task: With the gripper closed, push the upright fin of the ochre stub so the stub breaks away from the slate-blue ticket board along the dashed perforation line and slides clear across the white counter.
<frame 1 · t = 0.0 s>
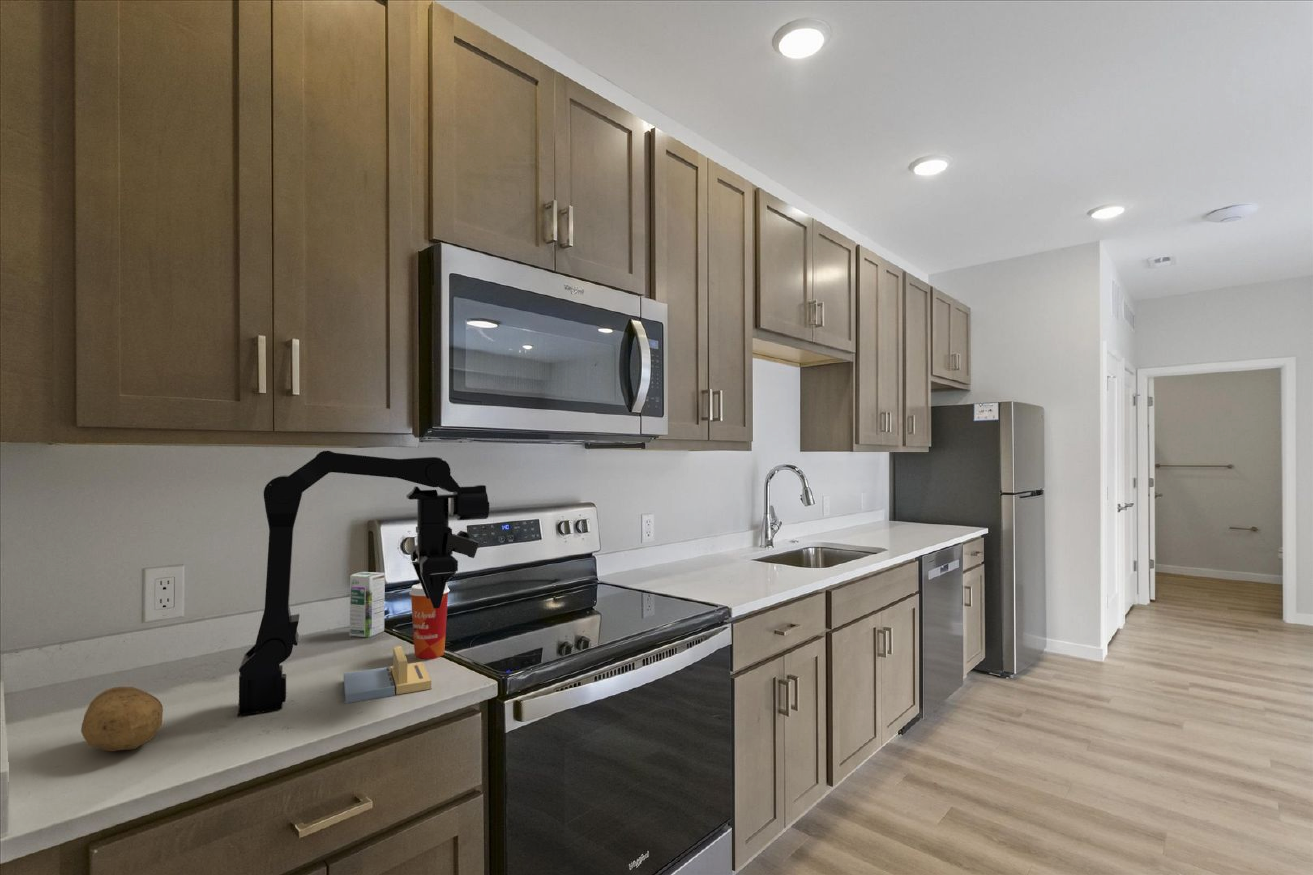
hand: (433, 602, 125), 15 cm above the counter, fingers open, 9 cm apart
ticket: (368, 687, 121), on the counter
coffee cup: (429, 655, 140), on the counter
syrup box: (367, 634, 157), on the counter
potato: (124, 748, 97), on the counter
stub: (410, 666, 124), point 3 cm above the counter, slide at 0.0 cm
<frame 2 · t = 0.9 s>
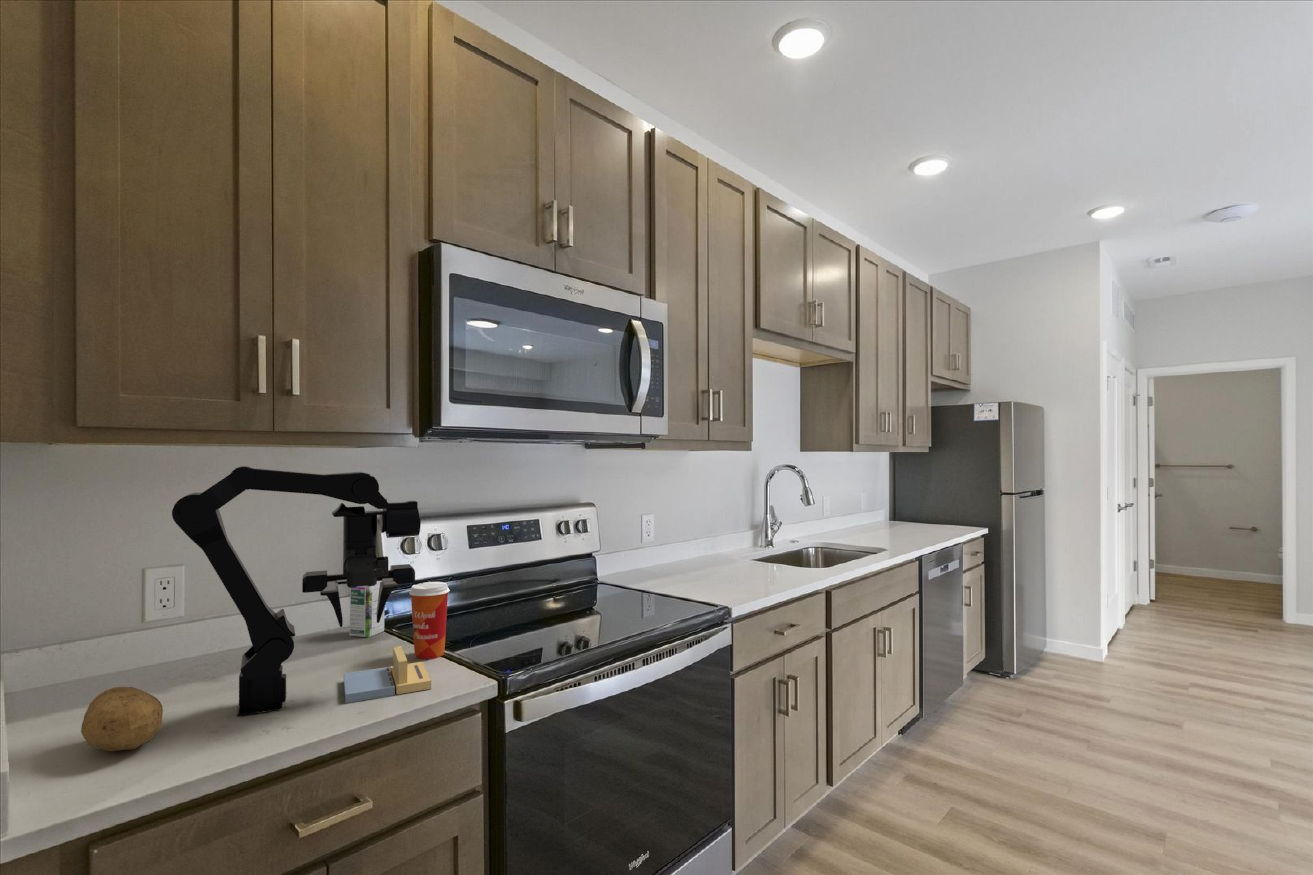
hand: (359, 624, 120), 12 cm above the counter, fingers open, 6 cm apart
nothing on the counter moved.
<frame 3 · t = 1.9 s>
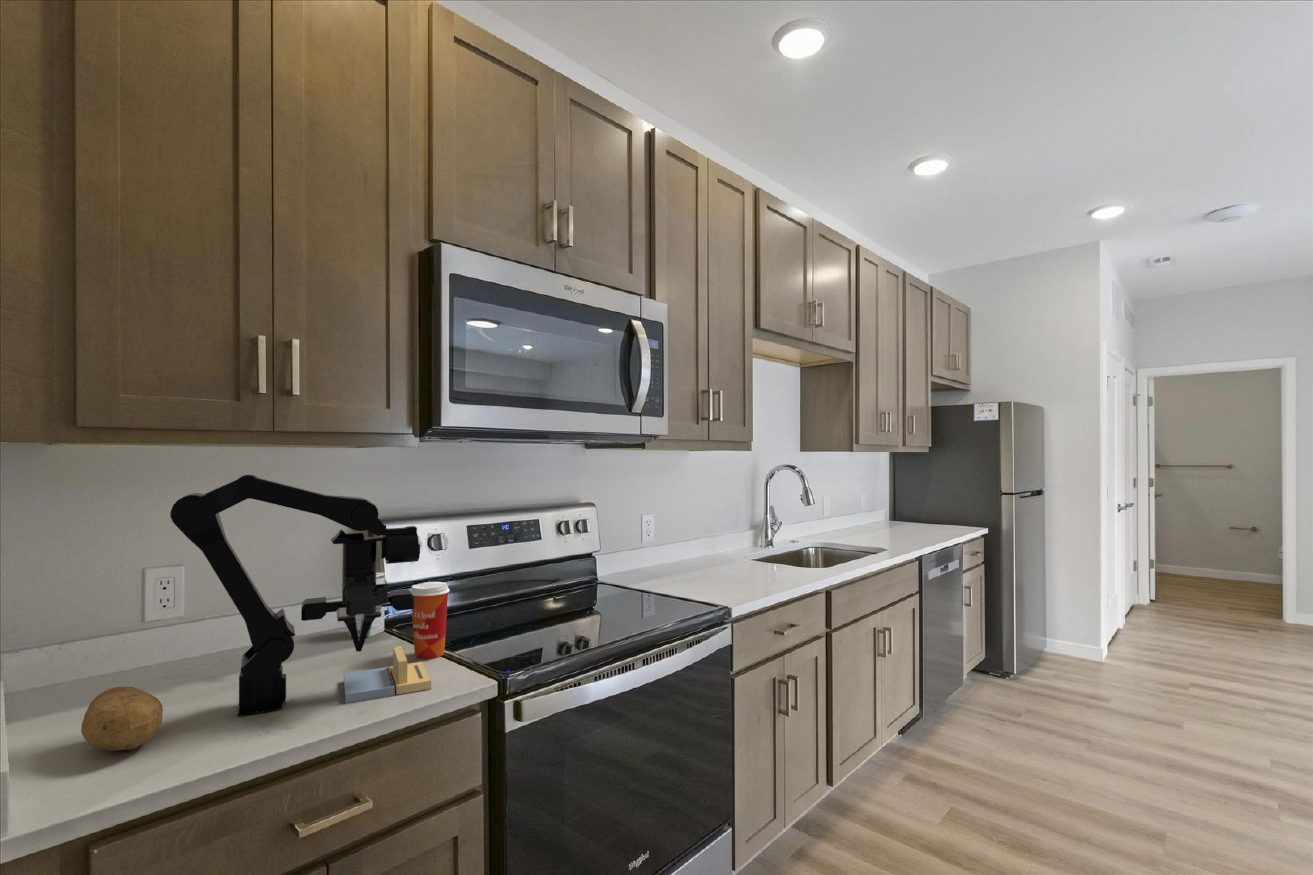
hand: (358, 650, 120), 7 cm above the counter, fingers closed
nothing on the counter moved.
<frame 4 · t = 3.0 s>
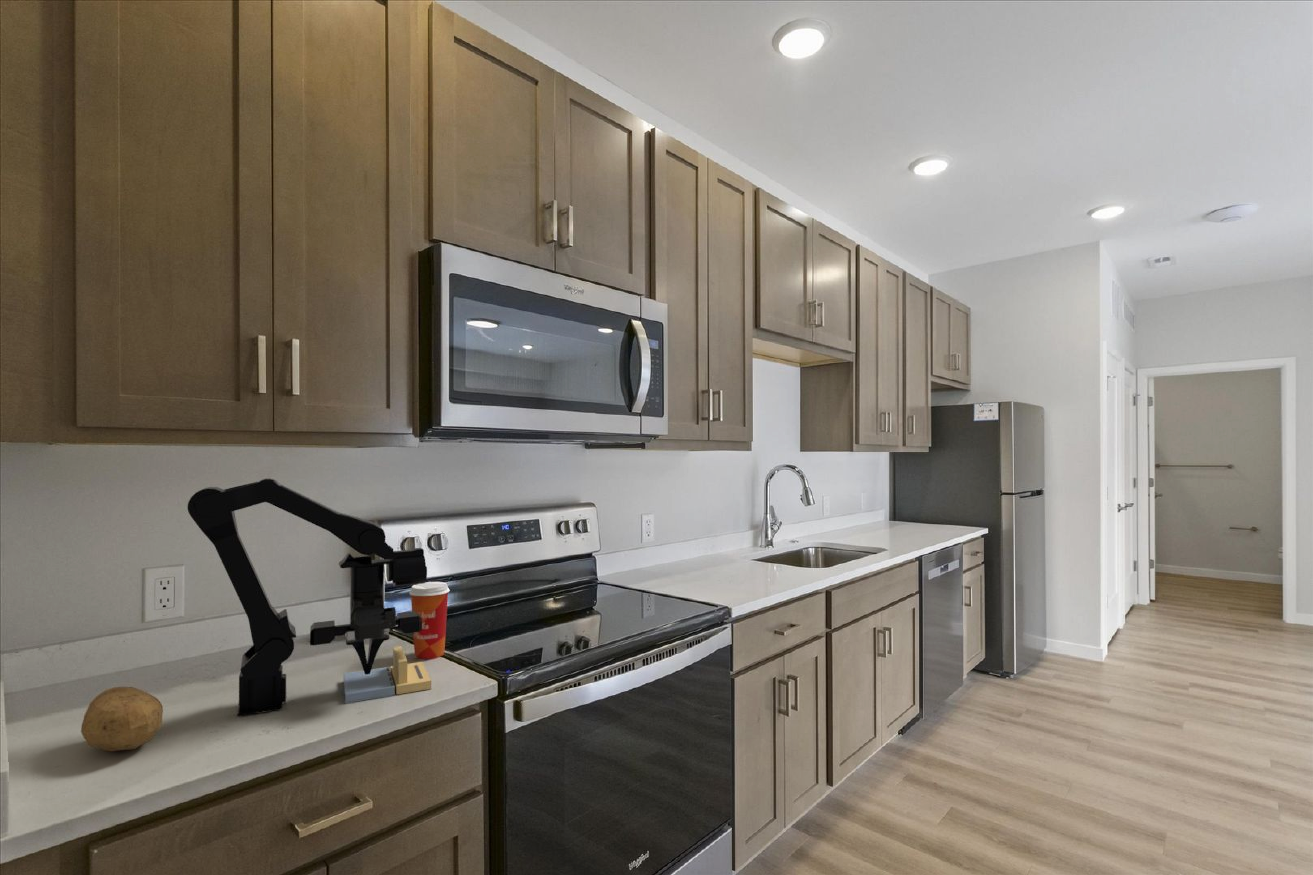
hand: (367, 673, 121), 3 cm above the counter, fingers closed
nothing on the counter moved.
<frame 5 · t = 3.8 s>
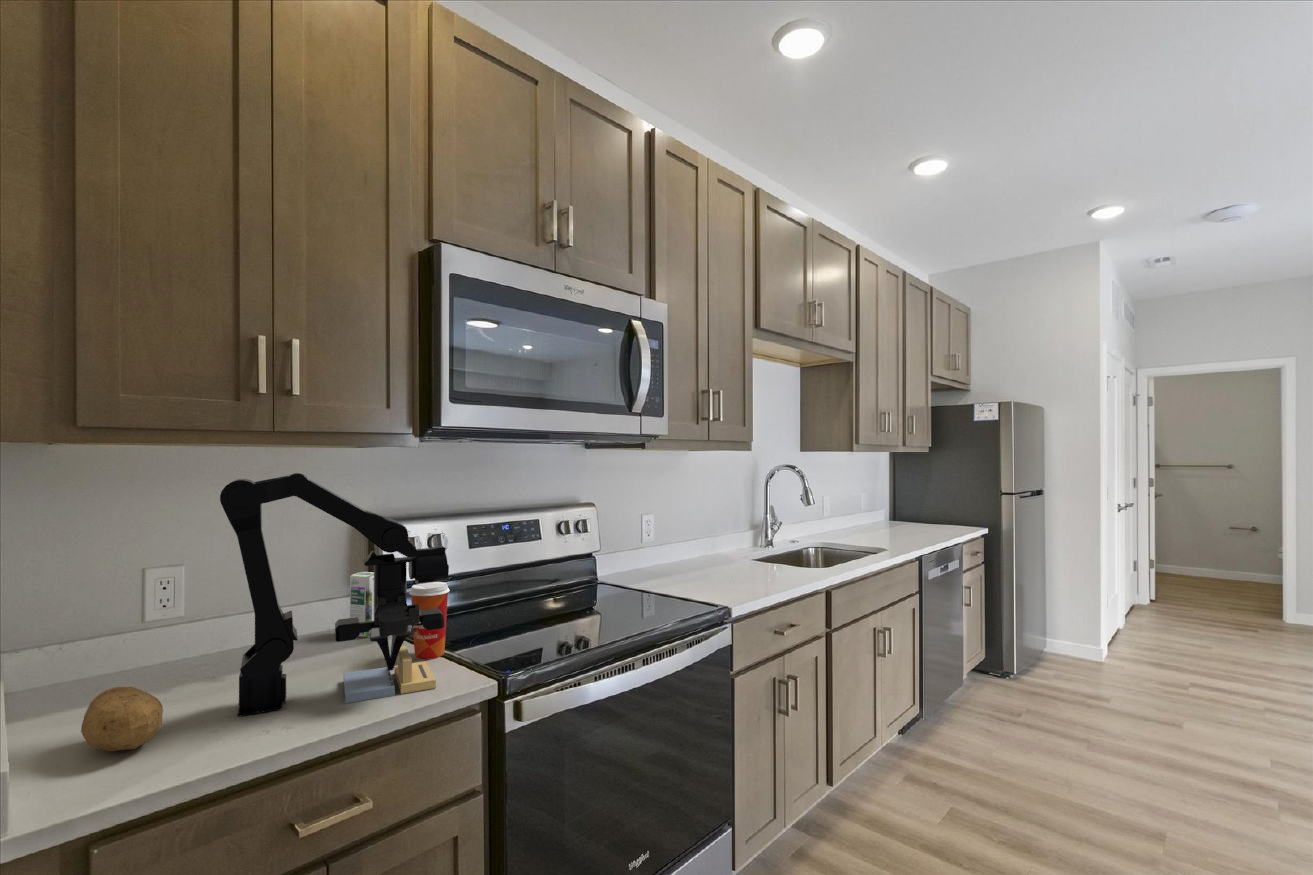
hand: (390, 669, 123), 3 cm above the counter, fingers closed
stub: (414, 666, 125), point 3 cm above the counter, slide at 0.8 cm, touching gripper
everything else where it was.
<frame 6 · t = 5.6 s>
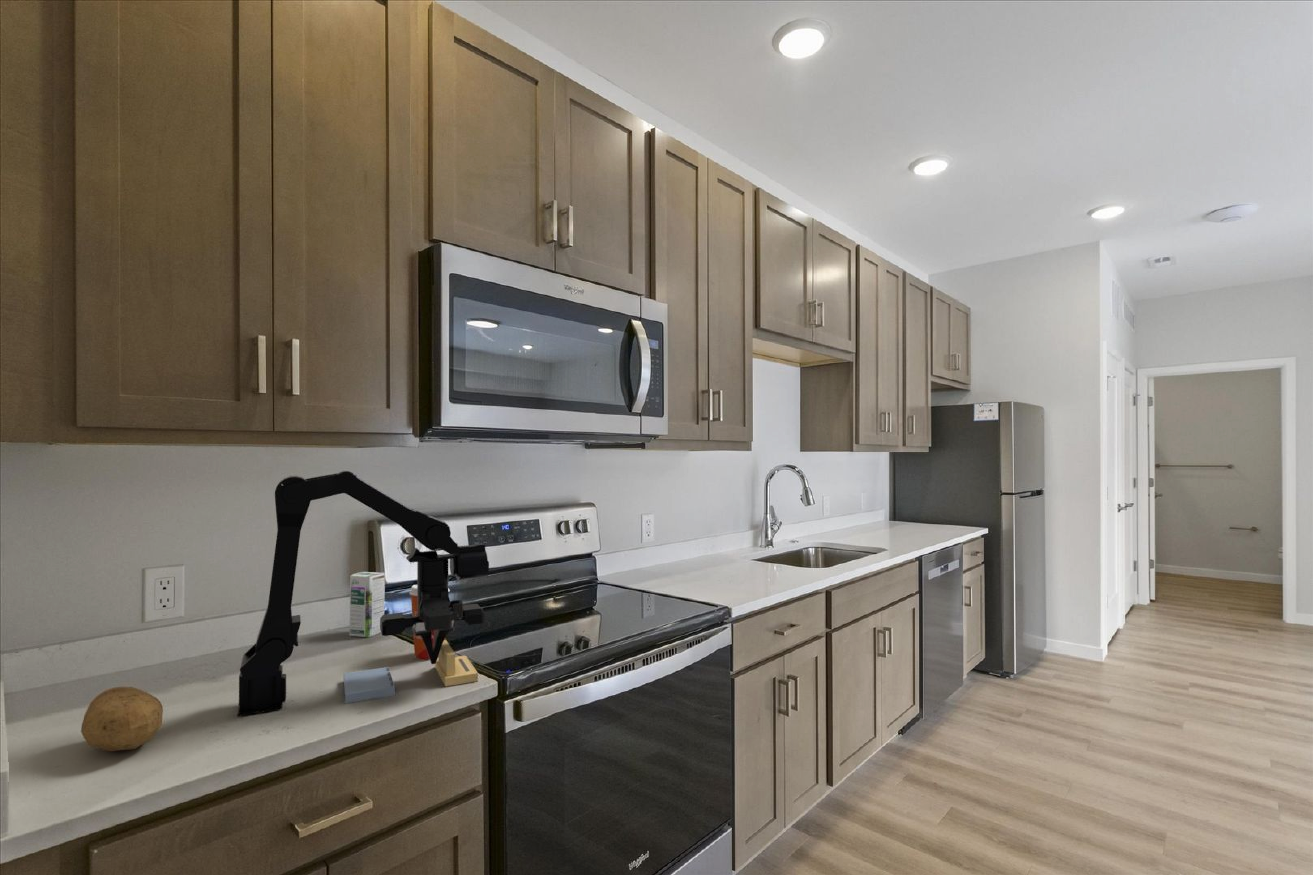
hand: (433, 663, 126), 3 cm above the counter, fingers closed
stub: (455, 659, 128), point 3 cm above the counter, slide at 8.5 cm, touching gripper
everything else where it was.
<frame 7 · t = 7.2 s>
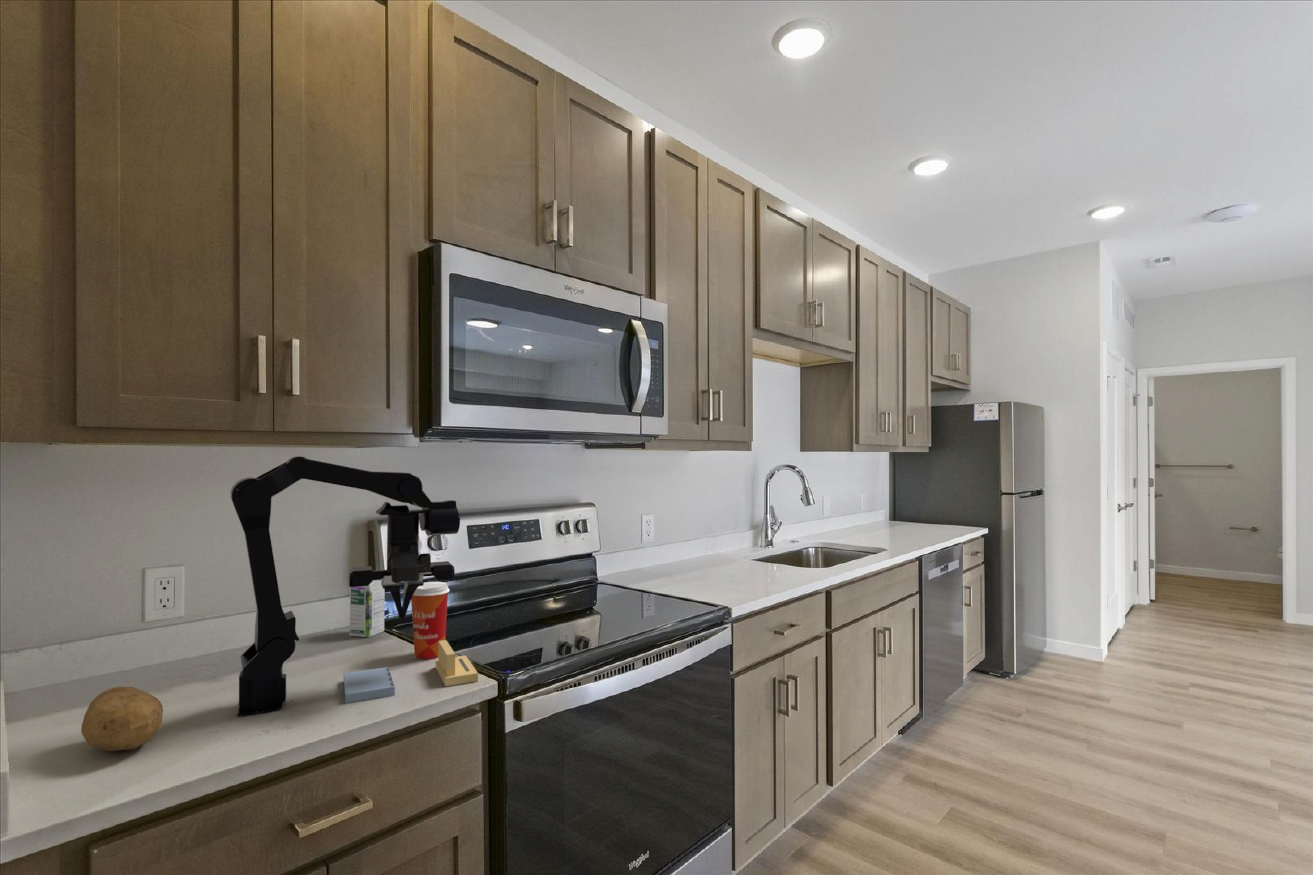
hand: (401, 618, 126), 12 cm above the counter, fingers closed
stub: (456, 659, 128), point 3 cm above the counter, slide at 8.5 cm
everything else where it was.
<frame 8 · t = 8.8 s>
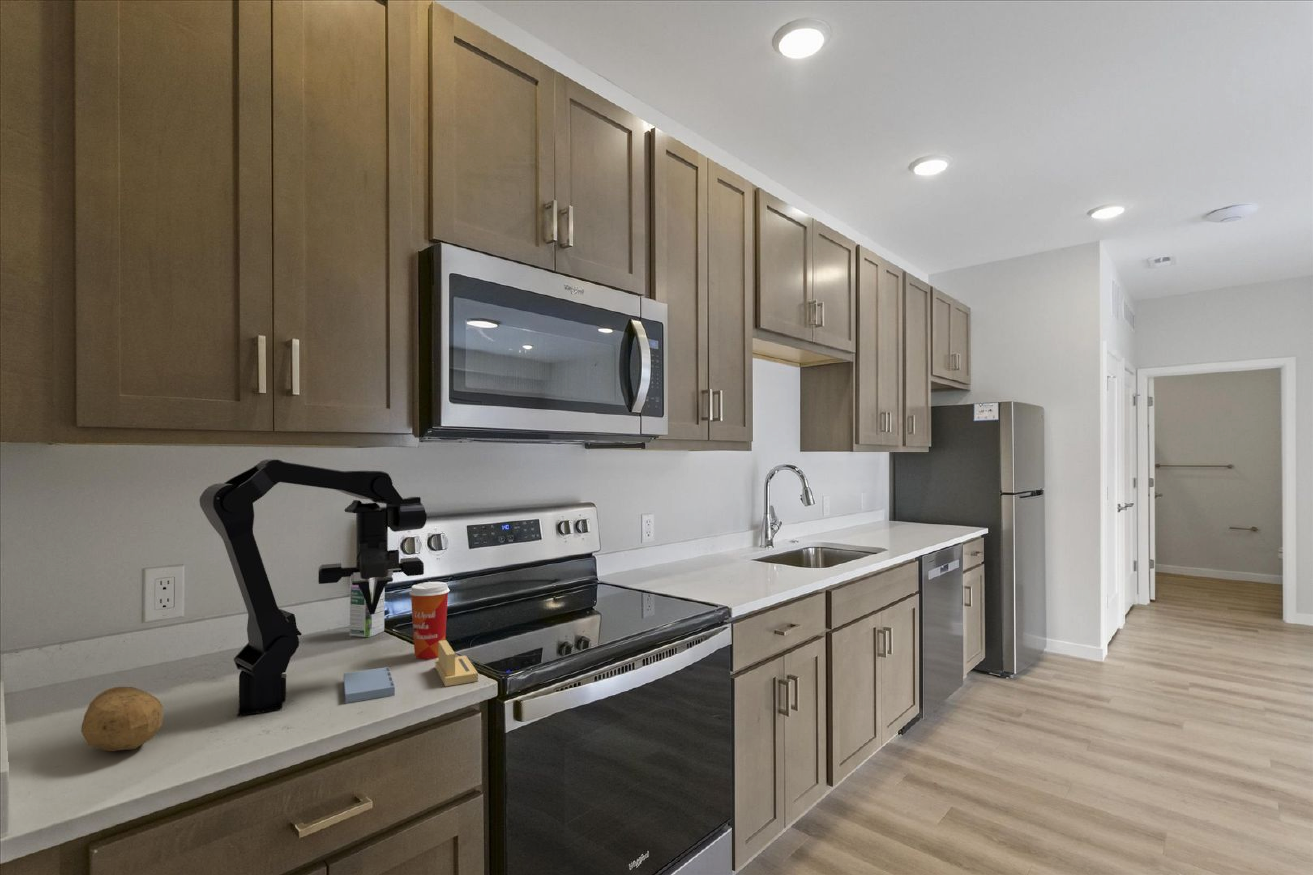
hand: (371, 613, 128), 12 cm above the counter, fingers closed
nothing on the counter moved.
at the end: stub slide at 8.5 cm; stub touching nothing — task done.
